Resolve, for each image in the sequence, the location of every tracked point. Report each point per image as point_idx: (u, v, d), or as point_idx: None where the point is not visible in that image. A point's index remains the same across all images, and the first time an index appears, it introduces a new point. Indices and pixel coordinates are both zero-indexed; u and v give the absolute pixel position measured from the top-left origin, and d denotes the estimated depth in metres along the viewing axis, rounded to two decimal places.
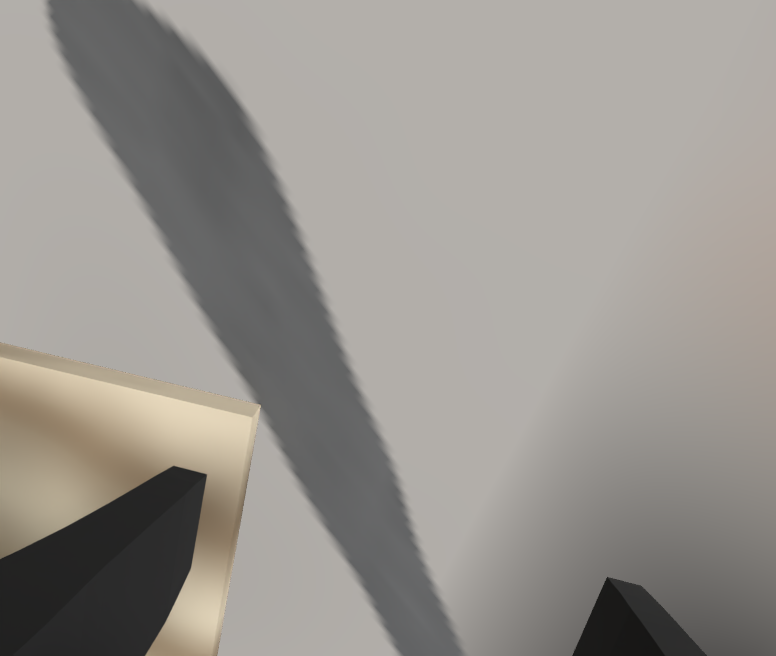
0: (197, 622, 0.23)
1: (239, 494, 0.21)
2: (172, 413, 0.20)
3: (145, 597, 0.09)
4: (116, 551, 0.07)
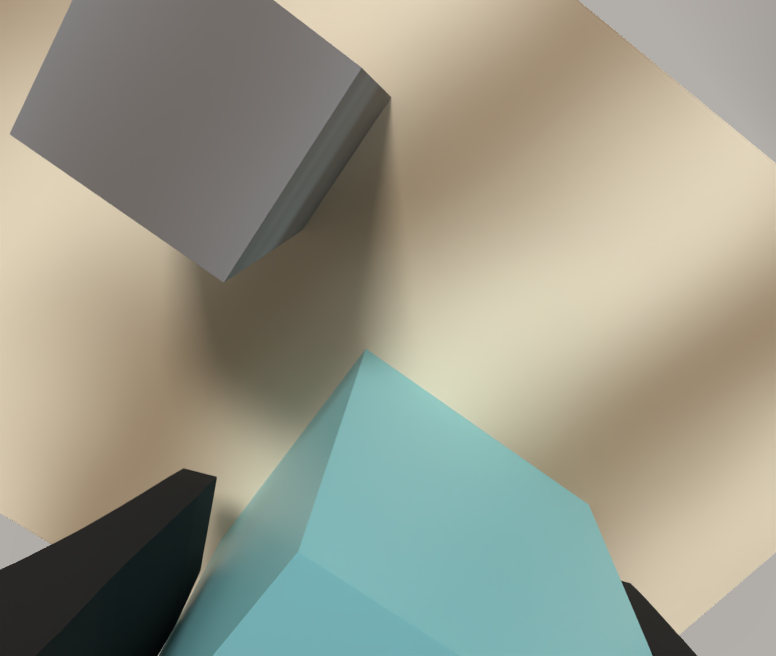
0: None
1: None
2: None
3: (157, 600, 0.09)
4: (130, 554, 0.07)
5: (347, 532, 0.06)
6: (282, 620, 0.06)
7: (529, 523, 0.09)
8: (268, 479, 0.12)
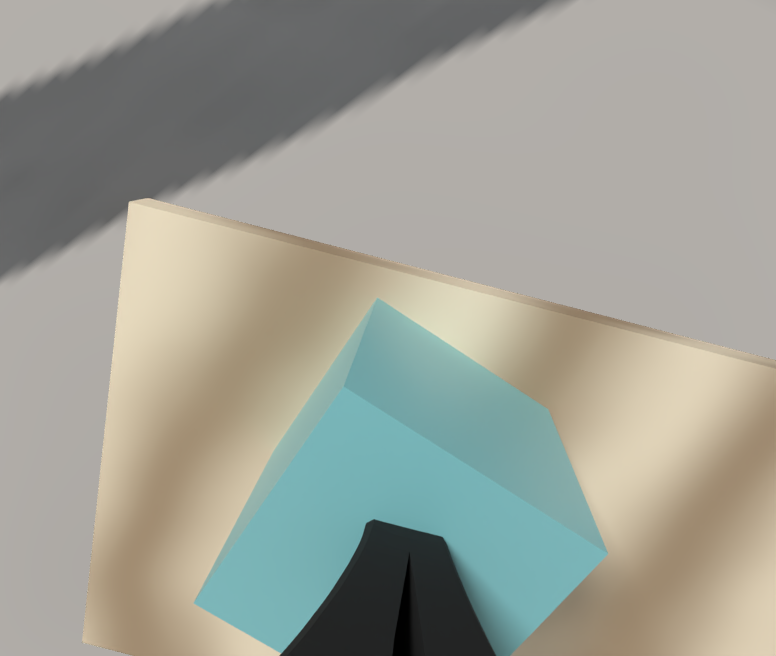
0: (482, 324, 0.15)
1: (253, 233, 0.15)
2: (139, 311, 0.15)
3: None
4: (391, 622, 0.07)
5: (371, 385, 0.10)
6: (335, 432, 0.10)
7: (496, 407, 0.13)
8: (308, 400, 0.15)
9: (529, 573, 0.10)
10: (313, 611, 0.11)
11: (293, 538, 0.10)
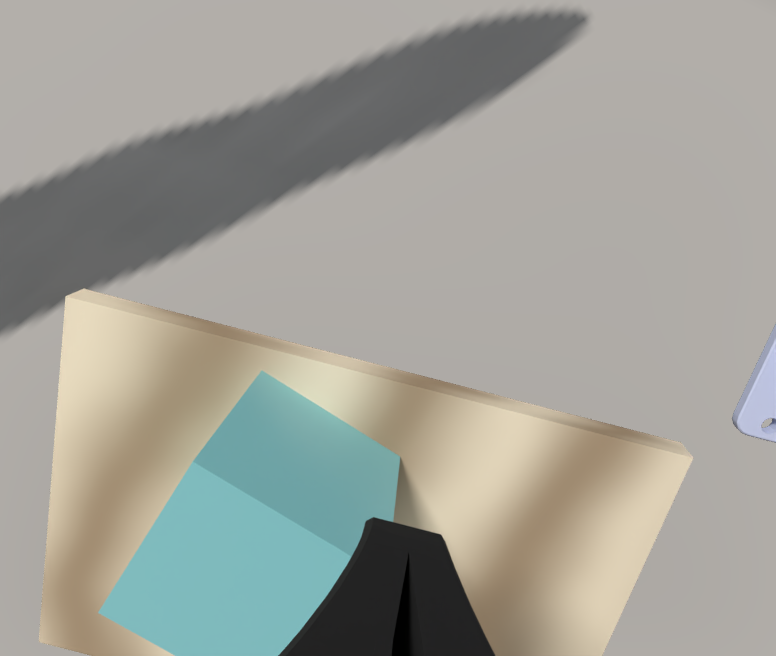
0: (344, 391, 0.19)
1: (163, 321, 0.19)
2: (76, 378, 0.19)
3: None
4: (390, 621, 0.07)
5: (219, 457, 0.14)
6: (189, 492, 0.14)
7: (341, 461, 0.17)
8: None
9: None
10: (184, 618, 0.15)
11: (166, 566, 0.14)
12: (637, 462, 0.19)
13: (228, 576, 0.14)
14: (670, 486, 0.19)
